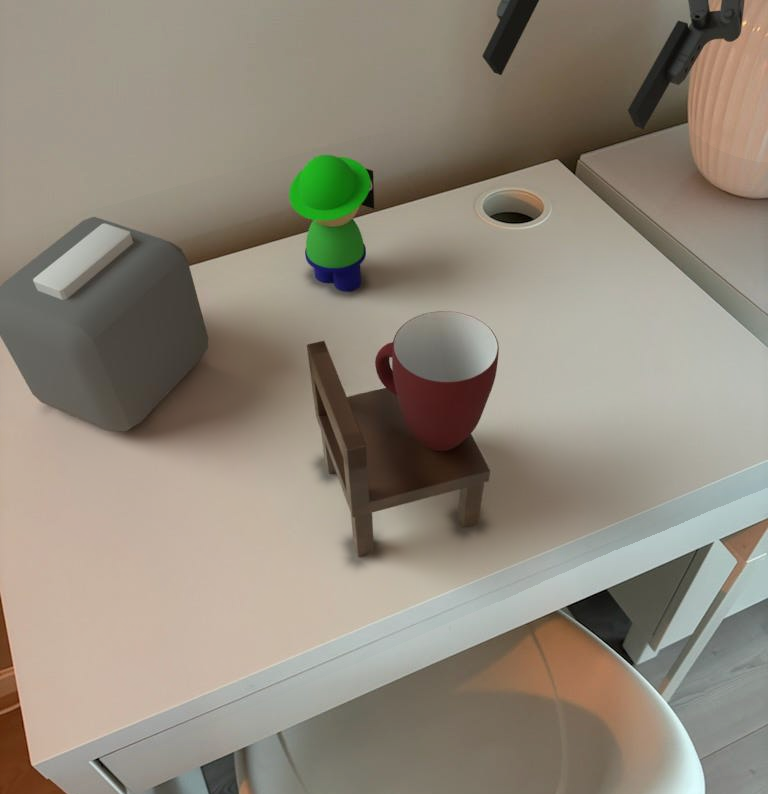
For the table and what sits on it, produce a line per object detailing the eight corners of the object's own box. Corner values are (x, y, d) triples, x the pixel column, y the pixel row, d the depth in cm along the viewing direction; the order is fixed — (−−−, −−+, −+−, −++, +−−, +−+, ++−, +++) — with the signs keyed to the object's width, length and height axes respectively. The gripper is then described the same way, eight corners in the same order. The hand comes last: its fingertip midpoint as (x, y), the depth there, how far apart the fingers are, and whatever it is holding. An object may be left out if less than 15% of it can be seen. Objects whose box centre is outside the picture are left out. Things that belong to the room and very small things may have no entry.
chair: (437, 432, 75) (444, 313, 63) (481, 525, 69) (499, 412, 56) (321, 461, 73) (306, 344, 61) (356, 560, 67) (346, 450, 54)
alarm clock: (142, 321, 86) (98, 195, 73) (224, 351, 83) (192, 224, 70) (43, 414, 78) (-26, 290, 65) (129, 451, 74) (74, 328, 62)
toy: (386, 270, 91) (385, 149, 79) (348, 311, 86) (340, 189, 74) (325, 248, 94) (314, 128, 81) (285, 287, 89) (267, 166, 77)
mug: (350, 437, 64) (343, 349, 56) (396, 379, 69) (395, 289, 60) (461, 484, 61) (470, 397, 53) (502, 420, 65) (516, 330, 57)
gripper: (889, -133, 52) (709, 165, 57) (583, -191, 62) (456, 68, 68) (902, -225, 45) (698, 122, 51) (557, -273, 55) (419, 21, 61)
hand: (560, 92), depth 59 cm, fingers open, 13 cm apart
